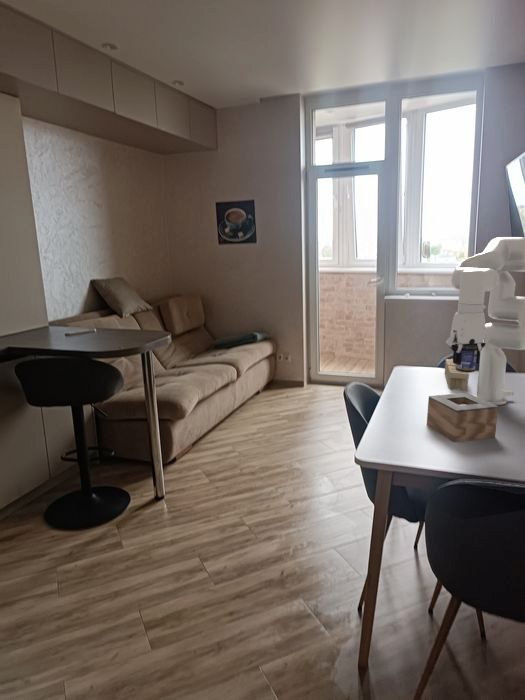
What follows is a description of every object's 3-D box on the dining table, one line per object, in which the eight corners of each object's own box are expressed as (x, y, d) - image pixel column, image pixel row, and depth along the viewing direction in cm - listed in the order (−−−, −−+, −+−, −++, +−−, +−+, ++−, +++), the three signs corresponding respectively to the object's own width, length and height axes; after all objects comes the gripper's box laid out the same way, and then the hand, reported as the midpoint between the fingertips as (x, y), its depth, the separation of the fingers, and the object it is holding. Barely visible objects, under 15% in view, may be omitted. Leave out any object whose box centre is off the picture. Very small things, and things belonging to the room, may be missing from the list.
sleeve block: (464, 420, 173) (467, 392, 171) (495, 437, 159) (498, 406, 157) (426, 425, 170) (428, 396, 167) (454, 442, 155) (456, 410, 153)
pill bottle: (477, 373, 156) (480, 339, 154) (457, 372, 157) (459, 339, 155) (473, 368, 162) (476, 336, 160) (453, 367, 163) (456, 335, 161)
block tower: (444, 375, 238) (448, 390, 211) (445, 358, 237) (449, 371, 209) (461, 376, 236) (467, 391, 209) (462, 359, 235) (469, 372, 207)
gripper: (485, 306, 161) (480, 359, 165) (439, 308, 157) (435, 362, 161) (501, 309, 154) (496, 364, 158) (454, 311, 150) (449, 367, 154)
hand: (465, 362), depth 159 cm, fingers closed on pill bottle, 6 cm apart
